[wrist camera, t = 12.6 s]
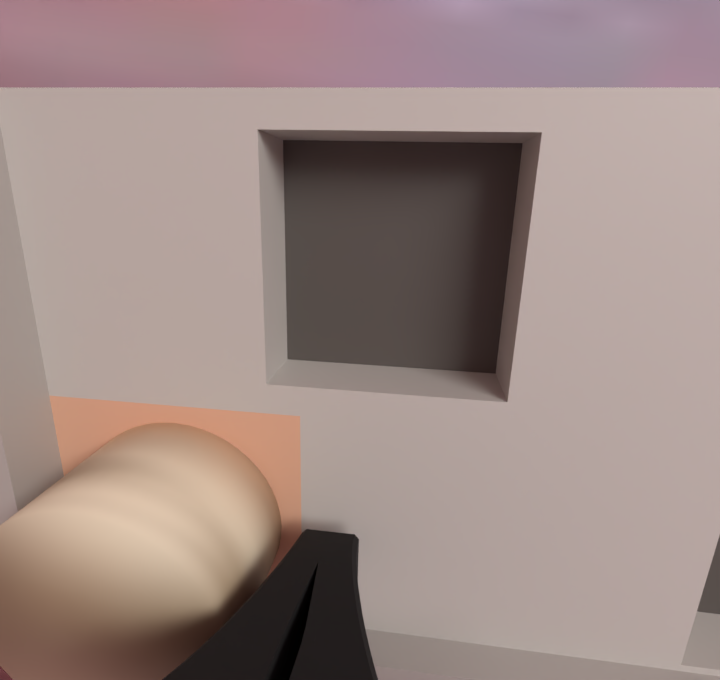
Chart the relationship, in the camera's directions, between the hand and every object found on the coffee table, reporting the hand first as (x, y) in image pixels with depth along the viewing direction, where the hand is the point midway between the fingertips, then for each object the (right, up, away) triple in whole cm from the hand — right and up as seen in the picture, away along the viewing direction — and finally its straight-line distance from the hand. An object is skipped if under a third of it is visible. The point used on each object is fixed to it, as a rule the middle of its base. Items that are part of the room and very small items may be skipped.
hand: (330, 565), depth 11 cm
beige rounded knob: (-4, +1, +1) cm, 4 cm away
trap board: (+4, +4, +1) cm, 6 cm away
